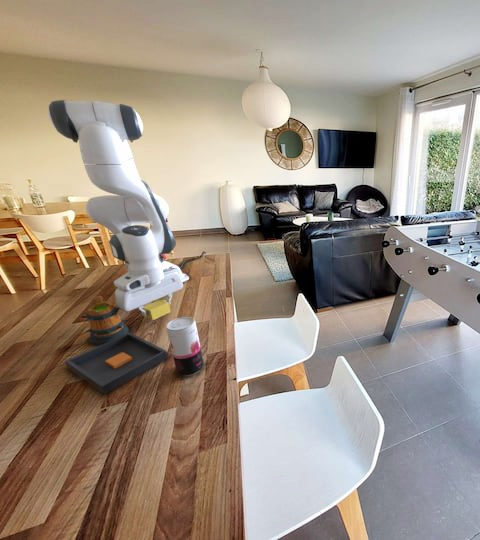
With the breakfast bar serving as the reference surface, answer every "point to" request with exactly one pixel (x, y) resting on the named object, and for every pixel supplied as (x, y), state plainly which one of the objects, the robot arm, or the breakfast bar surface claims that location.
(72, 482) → the breakfast bar surface
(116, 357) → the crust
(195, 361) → the beverage can
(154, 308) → the sponge
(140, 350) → the dark grey tray
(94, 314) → the brown wooden barrel
